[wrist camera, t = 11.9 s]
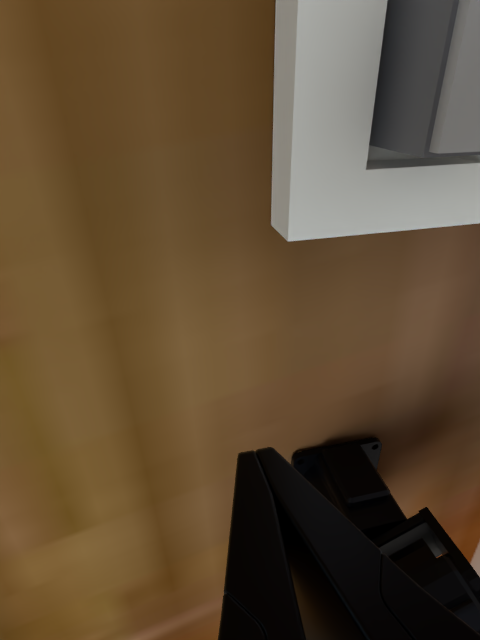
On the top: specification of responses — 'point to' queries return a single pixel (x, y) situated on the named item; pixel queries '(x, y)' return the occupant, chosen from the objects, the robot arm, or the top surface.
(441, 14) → the plug
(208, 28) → the top surface
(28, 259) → the top surface
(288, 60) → the socket plate
